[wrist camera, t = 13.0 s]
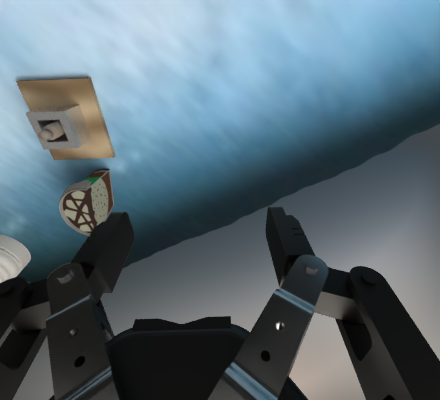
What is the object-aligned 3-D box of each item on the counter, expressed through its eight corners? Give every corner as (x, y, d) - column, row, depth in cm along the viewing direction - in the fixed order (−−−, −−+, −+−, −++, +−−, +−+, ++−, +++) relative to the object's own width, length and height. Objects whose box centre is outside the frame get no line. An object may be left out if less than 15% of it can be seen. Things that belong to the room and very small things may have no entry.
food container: (78, 158, 46) (47, 182, 37) (109, 162, 46) (85, 187, 38) (88, 206, 53) (63, 236, 44) (115, 209, 53) (96, 239, 45)
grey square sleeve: (45, 106, 39) (25, 113, 35) (79, 104, 39) (63, 111, 35) (60, 139, 42) (44, 149, 38) (92, 138, 42) (78, 147, 38)
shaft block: (20, 80, 38) (-25, 87, 31) (90, 77, 38) (61, 84, 31) (57, 157, 46) (27, 177, 39) (115, 155, 45) (96, 174, 38)
